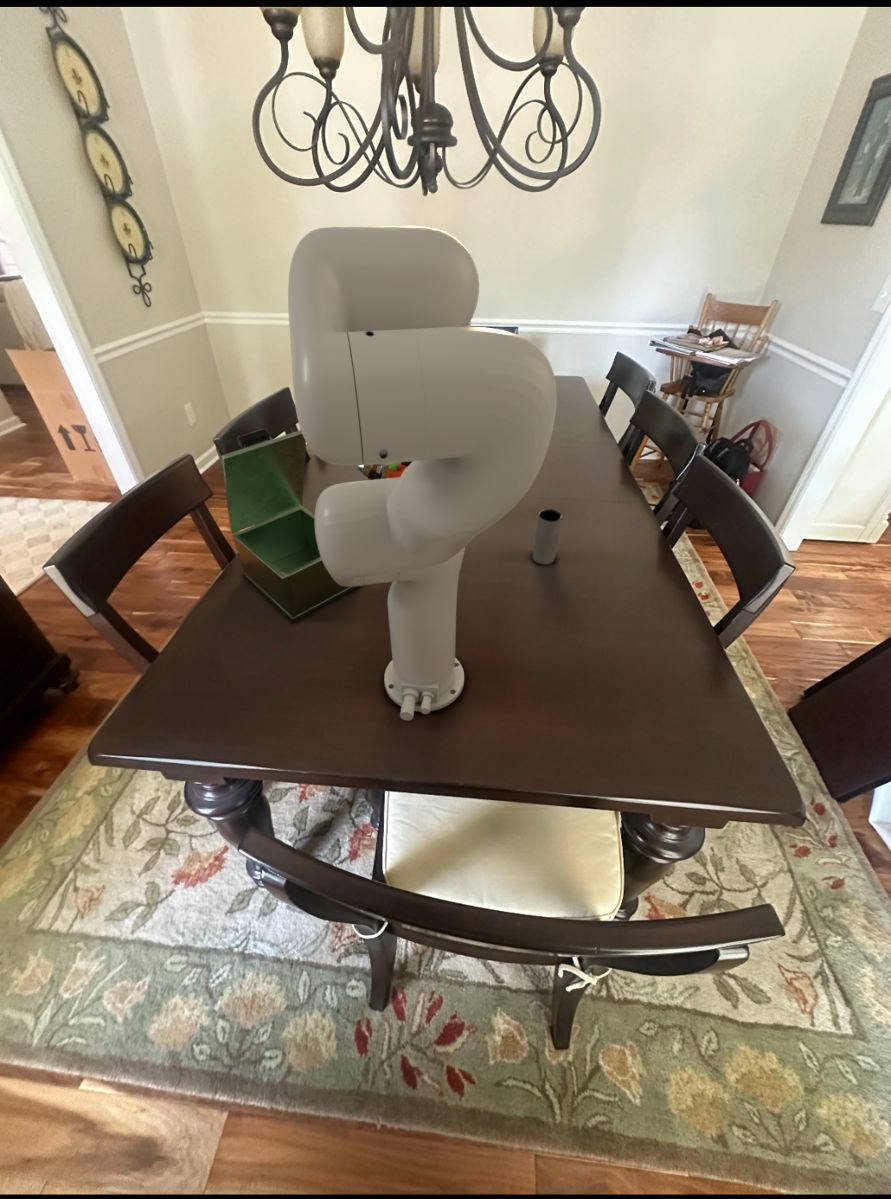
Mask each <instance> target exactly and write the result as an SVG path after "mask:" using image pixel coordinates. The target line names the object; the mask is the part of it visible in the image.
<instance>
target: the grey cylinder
mask: <svg viewBox="0 0 891 1199" xmlns="http://www.w3.org/2000/svg"><path fill="white" fill-rule="evenodd" d="M562 521H563V515H562V514H561V512H560V511H557V510H555V509H543V510H541V511H539V513H538V515H537V521H536V522H537V523H536V528H535V535H534V536H535V537H534V544H533V550H532V559H533V561H534V562H535V563H537V564H540V565H550V564H552V563H553V562H554V561H555V559H556V553H557V548H558V543H559V538H560V533H561V527H562Z"/></svg>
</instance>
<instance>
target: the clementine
mask: <svg viewBox="0 0 891 1199" xmlns="http://www.w3.org/2000/svg"><path fill="white" fill-rule="evenodd" d="M406 468H407V467H406V466H404V465H401V463H400V464H397V463H396V464H395V463H393V464H391V465H389V468H388V473H387V477H386V478H397V477H400V476H401V475H402V473H403V472H404V470H405V469H406ZM378 470H381V466H379V467H378ZM378 470H377V471H376V472H377V473H378Z"/></svg>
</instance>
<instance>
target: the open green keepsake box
mask: <svg viewBox="0 0 891 1199" xmlns="http://www.w3.org/2000/svg"><path fill="white" fill-rule="evenodd" d="M232 540H233V542H234V545H235V548H236V552H237V554H238V558H239V561H240V564H241V567H242V570H243V573H244V577H245V578H246V579H247V580H249V582H250V583H252V584H253V585H254V587H256V588H257V589H258V590H259V591H260V592H261V593H262V594H263V595H264V596H265V597H266V598H267V599H268V600H270V601H271V602H272V603H273V605H275V606H276V607H277V608H278V609H279V610H280V611H282V613H283V614H285V615H286V616H287V617H288V618H289V619H290V620H291V621H292V622H293V623H294V622H296V621H298V620H300V619H302V618H304V617H306V616H307V615H309V614H311V613H312V612H315V611H316V610H318V609H320V608H322V607H324V606H326V605H327V604H329V603H332V602H333V601H336V600H337V599H338V598H340V597H342V596H344V595H346V594H348V593H350V592H352V591H354V590H355V589H357V588H359V587H360V586H353V587H345V586H341V585H339V584H338V583H336V582H335V580H334V579H333V578H332V577H331V575H330V574H329V572H328V571H327V569H326V567H325V565H324V563H323V561H322V559H321V556H320V553H319V549H318V545H317V541H316V535H315V513H312V512H311V511H310V510H309V509H307V508H305V507H304V506H303V505H301V506H299V507H297V508H294V509H292V510H289V511H287V512H284V513H282V514H279V515H277V516H275V517H272V518H270V519H267V520H265V521H262V522H260V523H258V524H255V525H253V526H250V527H248V528H245V529H243V530H241V531H238V532H236V533H233V534H232Z"/></svg>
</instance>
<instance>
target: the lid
mask: <svg viewBox="0 0 891 1199" xmlns="http://www.w3.org/2000/svg"><path fill="white" fill-rule="evenodd" d="M270 436H271V435H270V432H269V431H268V429H267V428H266V427H265V428H261V429H258V430H255V431H252V432H248V433H246V434H242V435H238V436H237V437H236V442H237V444H238V446H239V447H240V448H241V449H238V450H234V451H231V452H229V453H226V454H222V455H221V463H222V472H223V480H224V490H225V497H226V506H227V515H228V524H229V532H230V533H231V534H232V535H233V534H235V533H238V532H240V531H242V530H245V529H247V528H250V527H252V526H255V525H257V524H259V523H262V522H264V521H267V520H269V519H272V518H274V517H276V516H279V515H281V514H284V513H286V512H289V511H291V510H293V509H296V508H298V507H301V506H303V499H304V482H305V469H306V468H305V467H306V448H307V443H306V441H305V439H304V437H303V434H302V432H301V429H300V430H296V431H293V432H290V433H287V434H284V435H281V436H278V437H275V438H272V437H270Z"/></svg>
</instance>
